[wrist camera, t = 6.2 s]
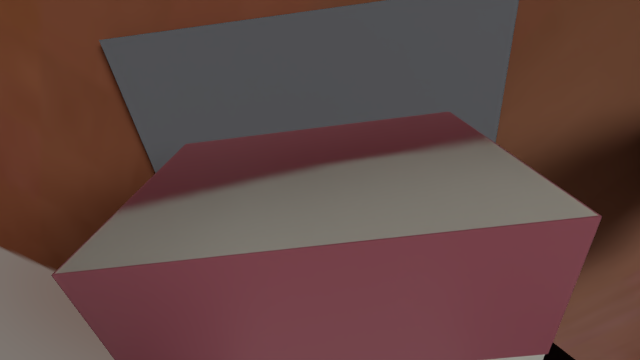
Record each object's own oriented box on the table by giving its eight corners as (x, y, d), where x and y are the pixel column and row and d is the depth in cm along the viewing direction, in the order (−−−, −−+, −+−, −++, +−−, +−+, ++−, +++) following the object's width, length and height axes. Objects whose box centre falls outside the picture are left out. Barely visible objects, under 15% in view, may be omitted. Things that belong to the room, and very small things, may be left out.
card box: (429, 353, 11) (484, 515, 7) (265, 368, 11) (243, 531, 8) (449, 111, 7) (602, 216, 3) (185, 144, 7) (51, 275, 3)
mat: (514, -17, 13) (521, -19, 12) (474, 240, 19) (478, 245, 19) (106, 39, 13) (99, 40, 13) (201, 269, 20) (198, 274, 20)
